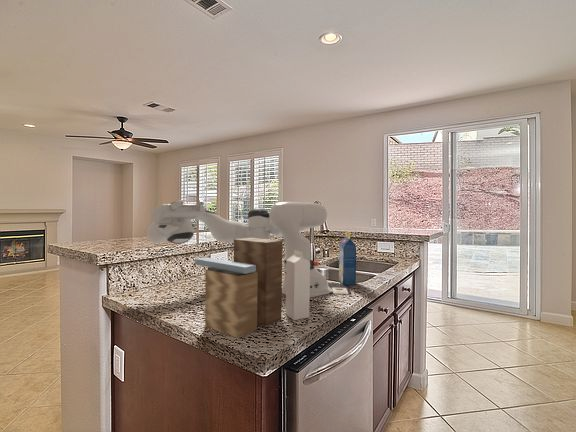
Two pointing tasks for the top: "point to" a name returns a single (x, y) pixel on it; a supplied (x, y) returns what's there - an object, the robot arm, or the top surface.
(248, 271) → the slat
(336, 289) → the chocolate bar
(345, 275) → the blue food package
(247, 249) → the stand
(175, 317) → the top surface
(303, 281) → the milk
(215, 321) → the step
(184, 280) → the top surface
